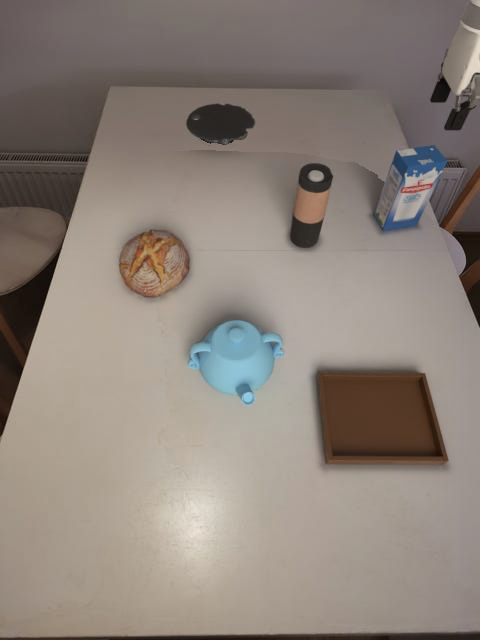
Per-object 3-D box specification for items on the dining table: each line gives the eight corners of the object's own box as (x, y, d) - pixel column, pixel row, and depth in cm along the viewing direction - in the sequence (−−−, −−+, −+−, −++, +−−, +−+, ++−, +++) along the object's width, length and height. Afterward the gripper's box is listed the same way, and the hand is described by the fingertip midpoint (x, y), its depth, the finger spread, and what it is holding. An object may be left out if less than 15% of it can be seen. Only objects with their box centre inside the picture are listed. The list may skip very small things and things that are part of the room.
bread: (120, 305, 100) (107, 277, 91) (127, 243, 111) (116, 213, 102) (190, 299, 100) (184, 271, 91) (190, 238, 111) (184, 208, 102)
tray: (420, 378, 89) (425, 373, 87) (443, 465, 79) (448, 461, 77) (316, 378, 89) (318, 372, 87) (325, 464, 79) (328, 460, 77)
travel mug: (283, 240, 111) (292, 175, 94) (298, 224, 114) (309, 158, 98) (309, 253, 108) (323, 188, 92) (324, 235, 112) (339, 170, 96)
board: (172, 133, 137) (170, 118, 133) (223, 108, 146) (223, 93, 141) (217, 165, 128) (217, 150, 124) (269, 137, 137) (270, 121, 133)
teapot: (274, 329, 95) (279, 295, 85) (296, 414, 84) (305, 386, 74) (185, 342, 93) (179, 307, 83) (195, 430, 82) (190, 403, 72)
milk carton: (382, 231, 113) (407, 166, 97) (372, 215, 117) (396, 150, 100) (416, 225, 115) (447, 160, 98) (406, 210, 118) (434, 144, 102)
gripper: (530, 39, 66) (477, 141, 80) (491, -6, 75) (450, 92, 90) (482, 39, 66) (437, 141, 80) (449, -6, 75) (414, 92, 89)
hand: (444, 115), depth 85 cm, fingers open, 9 cm apart
